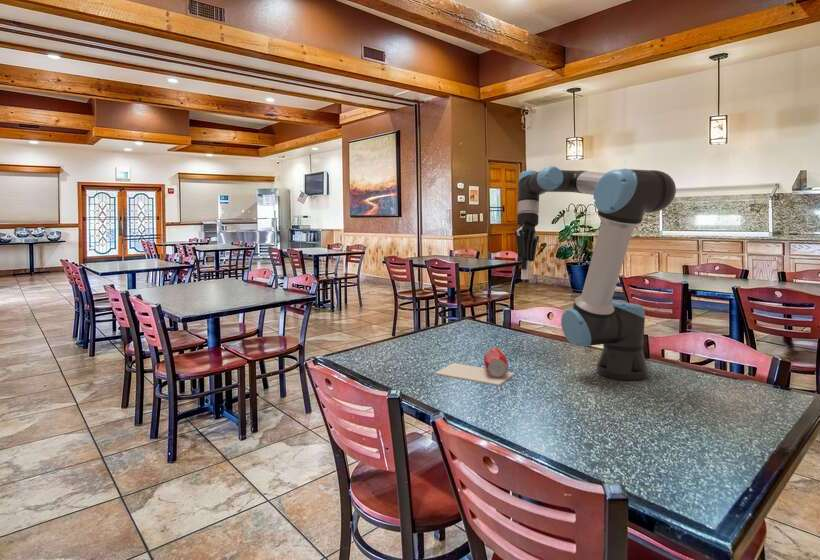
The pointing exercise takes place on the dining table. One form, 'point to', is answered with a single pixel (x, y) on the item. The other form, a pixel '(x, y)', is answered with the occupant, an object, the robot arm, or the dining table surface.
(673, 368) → the dining table surface
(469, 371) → the mat
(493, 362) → the soda can
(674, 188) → the robot arm
